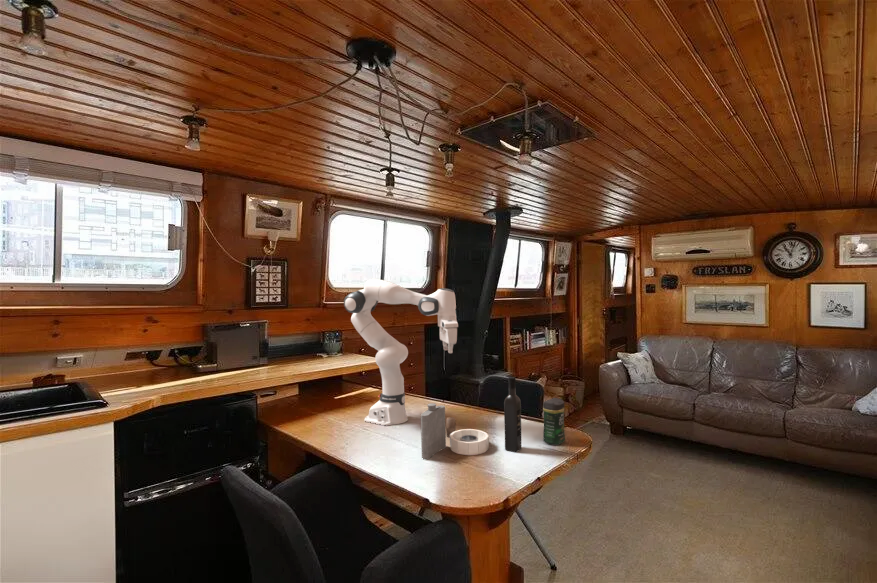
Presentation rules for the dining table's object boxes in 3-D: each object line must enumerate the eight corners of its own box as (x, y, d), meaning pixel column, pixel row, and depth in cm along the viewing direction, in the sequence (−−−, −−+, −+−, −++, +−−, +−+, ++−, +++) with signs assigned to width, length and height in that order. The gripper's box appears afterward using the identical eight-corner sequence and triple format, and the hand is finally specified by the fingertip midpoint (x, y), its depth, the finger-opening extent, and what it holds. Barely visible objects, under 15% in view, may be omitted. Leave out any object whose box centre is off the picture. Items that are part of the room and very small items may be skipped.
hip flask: (426, 460, 166) (425, 409, 166) (418, 458, 168) (417, 408, 168) (447, 446, 180) (446, 400, 179) (439, 444, 182) (438, 398, 181)
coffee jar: (557, 447, 176) (556, 403, 176) (540, 442, 182) (539, 400, 181) (568, 440, 183) (567, 398, 183) (551, 436, 189) (550, 395, 188)
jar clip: (458, 447, 176) (458, 439, 176) (463, 440, 183) (463, 434, 183) (474, 449, 173) (474, 441, 173) (479, 443, 180) (479, 436, 180)
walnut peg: (445, 437, 191) (445, 419, 191) (448, 434, 195) (448, 417, 194) (453, 438, 189) (453, 420, 189) (456, 435, 193) (456, 417, 193)
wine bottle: (522, 448, 176) (521, 377, 175) (516, 452, 171) (515, 379, 171) (510, 445, 179) (508, 375, 179) (504, 450, 174) (502, 378, 174)
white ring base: (444, 451, 174) (444, 439, 174) (457, 438, 189) (457, 427, 189) (482, 457, 168) (481, 444, 168) (492, 442, 183) (492, 431, 182)
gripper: (436, 321, 209) (437, 349, 209) (445, 324, 189) (446, 355, 189) (448, 320, 210) (449, 348, 210) (459, 323, 190) (459, 354, 190)
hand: (448, 351), depth 199 cm, fingers open, 8 cm apart
